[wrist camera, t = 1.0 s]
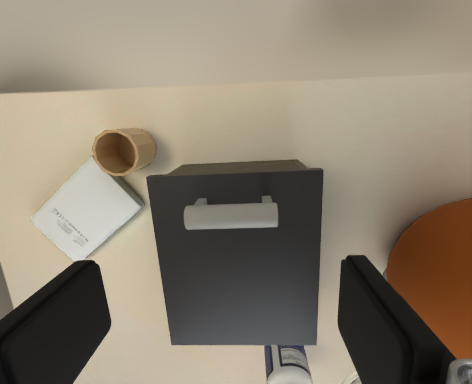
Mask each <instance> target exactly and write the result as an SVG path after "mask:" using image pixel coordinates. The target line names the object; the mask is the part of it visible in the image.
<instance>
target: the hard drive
mask: <svg viewBox="0 0 472 384" xmlns="http://www.w3.org/2000/svg"><path fill="white" fill-rule="evenodd" d="M144 205H145V203H144V201H143V200H142V199H141V198H140V197H139V196H138V195H137V194H136V193H135V192H134V191H133V190H132V189H131V188H130V187H129V186H128V185H127V184H126V183H125V182H124V181H123V180H122V179H121V178H120V177H119V176H112V175H110V174H108V173H106V172H104V171H102V169H101V168H100V167H99V166H98V164H97V163H96V162H95V160H94V155H92V156H90V157H89V159H88V160H87V161H86V162H85V163H84V164H83V165H82V166H81V167H80V168H79V169H78V170H77V171H76V172H75V173H74V174H73V175H72V176H71V177H70V178H69V179H68V180H67V181H66V182H65V183H64V184H63V185H62V186H61V187H60V188H59V189H58V190H57V191H56V192H55V193H54V194H53V195H52V196H51V197H50V198H49V199H48V200H47V201H46V202H45V203H44V204H43V205H42V206H41V208H40V209H39V210H38V211H37V212H36V213H35V214H34V215H33V216H32V217H31V218H30V219H29V220H30V222H31V223H32V224H33V225H34V226H35V227H36V228H38V229H39V230H40V231H41V232H42V233H43V234H44V235H45V236H47V237H48V238H49V239H50V240H51V241H52V242H53V243H54V244H55V245H56V246H57V247H58V248H60V249H61V250H62V251H63V252H64V253H65V254H66V255H67V256H68V257H69V258H70V259H72V260H73V261H74V262H76V261H78V260H83V259H84V258H85V257H87V256H88V255H89V254H90V253H91V252H92V251H93V250H94V249H96V248H97V247H98V246H99V245H100V244H101V243H102V242H104V241H105V240H106V239H107V238H108V237H109V236H110V235H112V234H113V233H114V232H115V231H116V230H117V229H118V228H119V227H121V226H122V225H123V224H124V223H125V222H126V221H127V220H128V219H130V218H131V217H132V216H133V215H134V214H135V213H136V212H138V211H139V210H140V209H141V208H142V207H143V206H144Z"/></svg>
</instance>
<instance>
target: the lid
mask: <svg viewBox="0 0 472 384" xmlns="http://www.w3.org/2000/svg"><path fill="white" fill-rule="evenodd" d="M146 179H147V186H148V192H149V199H150V206H151V212H152V219H153V225H154V232H155V238H156V245H157V252H158V258H159V265H160V271H161V278H162V285H163V291H164V298H165V304H166V311H167V317H168V324H169V331H170V337H171V344H172V345H316V342H317V317H318V292H319V267H320V242H321V217H322V192H323V169H321V168H307V169H283V170H260V171H237V172H213V173H190V174H166V175H150V176H148V177H146Z"/></svg>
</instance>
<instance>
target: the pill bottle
mask: <svg viewBox="0 0 472 384" xmlns="http://www.w3.org/2000/svg"><path fill="white" fill-rule="evenodd" d="M264 350H265V364H266V377H267V384H313V382H312V378H311V374H310V370H309V366H308V362H307V358H306V354H305V350H304V346H303V345H264Z"/></svg>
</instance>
